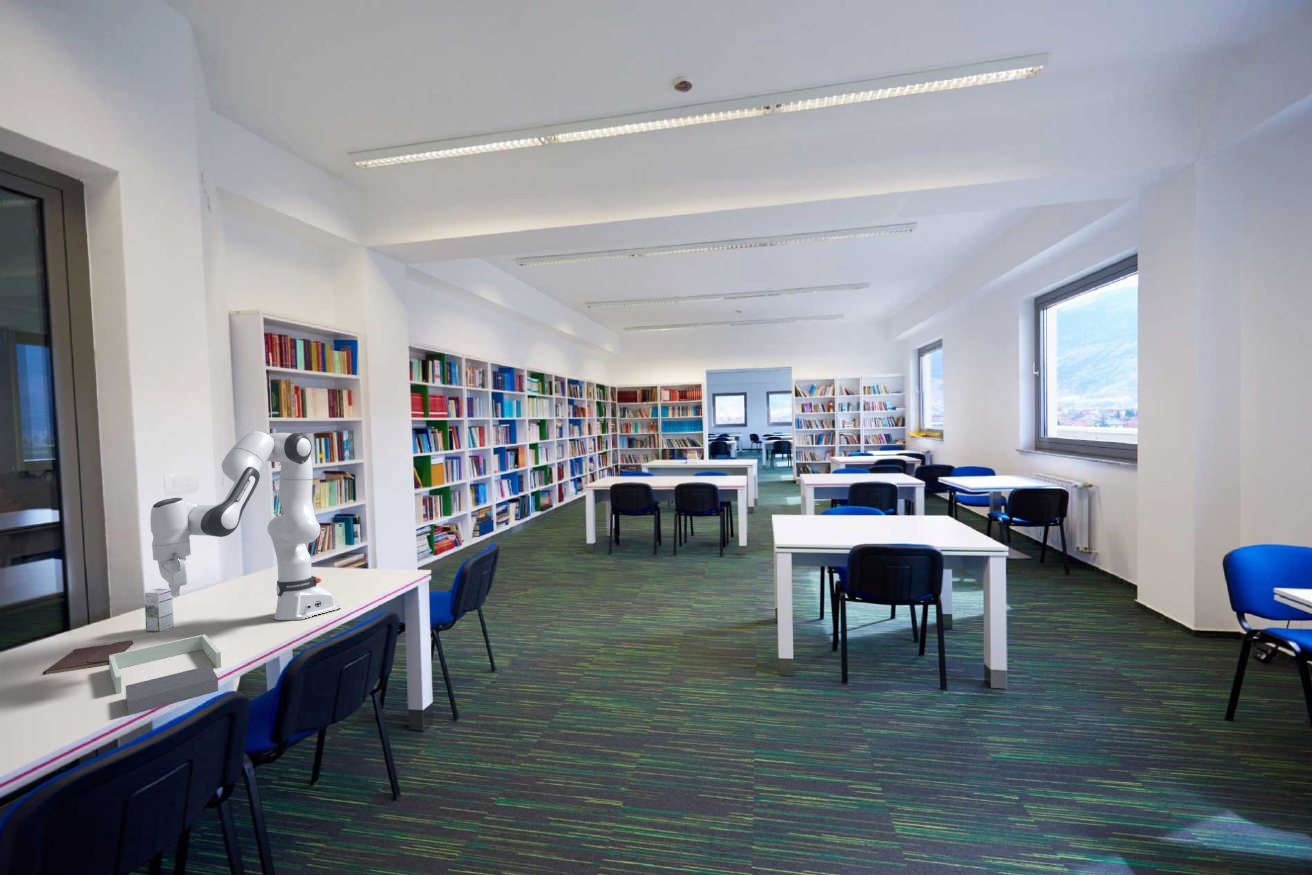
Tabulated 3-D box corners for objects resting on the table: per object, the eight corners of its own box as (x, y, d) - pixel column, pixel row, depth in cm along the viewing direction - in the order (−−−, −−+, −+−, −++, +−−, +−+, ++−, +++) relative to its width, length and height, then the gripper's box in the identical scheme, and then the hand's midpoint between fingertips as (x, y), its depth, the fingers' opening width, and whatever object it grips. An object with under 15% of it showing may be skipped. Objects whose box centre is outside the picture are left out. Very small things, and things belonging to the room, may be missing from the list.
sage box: (205, 647, 187) (205, 634, 187) (220, 666, 171) (220, 651, 171) (109, 670, 171) (108, 655, 170) (116, 693, 154) (115, 677, 154)
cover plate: (211, 678, 164) (210, 664, 164) (218, 692, 155) (217, 677, 155) (126, 700, 151) (125, 685, 151) (128, 717, 142) (128, 701, 142)
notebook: (43, 676, 168) (42, 669, 168) (73, 653, 186) (73, 647, 186) (110, 665, 175) (109, 659, 175) (133, 645, 193) (133, 639, 193)
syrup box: (174, 626, 210) (173, 587, 210) (159, 632, 204) (157, 592, 204) (160, 626, 210) (159, 587, 210) (144, 631, 204) (143, 591, 204)
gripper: (191, 553, 170) (195, 599, 170) (178, 545, 183) (182, 587, 184) (164, 558, 165) (167, 605, 166) (153, 549, 179) (156, 592, 179)
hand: (175, 595), depth 175 cm, fingers closed
